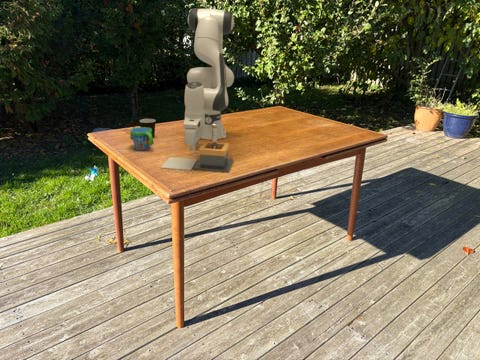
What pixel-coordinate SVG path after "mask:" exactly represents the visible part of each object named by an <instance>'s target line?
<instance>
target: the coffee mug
mask: <svg viewBox="0 0 480 360" xmlns="http://www.w3.org/2000/svg"><path fill="white" fill-rule="evenodd" d="M156 122H157V121H156V119H154V118H143V119H140V120H139V123H137V122H136V123H133V125H132V127H133V128H135V126H136V125H138V126H139V127H146V128H150V129H152V133H151V134H152V137H153V138H154V139H155V135H156ZM133 128H132V129H133Z"/></svg>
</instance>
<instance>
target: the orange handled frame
mask: <svg viewBox="0 0 480 360" xmlns="http://www.w3.org/2000/svg"><path fill="white" fill-rule="evenodd" d="M208 148H212V141H205V140H204V142H203V143H201V144H200V143H199V144H196V151H195V152H198V155H200V154H201V155H214V156H225V155H226V153H227V151H228V152H229V149H230V143H229V142H218V141H217V149H208ZM189 150H190V151H192V146H190V145H189Z"/></svg>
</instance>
